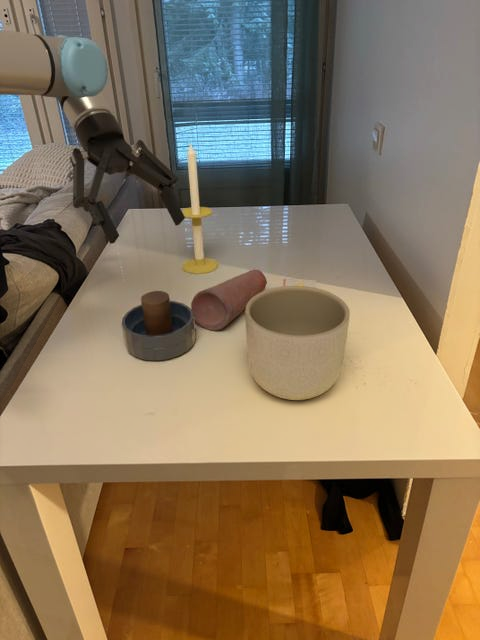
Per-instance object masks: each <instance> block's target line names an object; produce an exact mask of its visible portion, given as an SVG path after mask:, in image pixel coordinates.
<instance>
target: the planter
mask: <svg viewBox="0 0 480 640" xmlns="http://www.w3.org/2000/svg"><path fill="white" fill-rule="evenodd" d="M244 310H245V311H244V316H245V317H244V318H245V319H244V320H245V337H246V351H247V361H248V365H249V366H248V367H249V370H250V373H251V375H252V377H253V379H254V381H255V382H256V383H257V384H258V386H259V387H260V388H262V389H263V390H264V391H266V392H267V393H269V394H270V395H272V396H275V397H277V398H281V399H284V400H288V401H289V400H290V401H304V400H309V399H312V398H315V397H318V396H320V395H322V394H324V393H325V392H327V391H328V390H329V389H331V387H332V386H333V385H334V384H335V383H336V381H337V380H338V378H339V375H340V372H341V370H342V366H343V362H344V357H345V351H346V344H347V338H348V332H349V326H350V325H349V324H350V318H351V317H350V315H351V313H350V312H351V311H350V309H349V306H348V305H347V303H346V302H345V301H344V300H343V299H342V298H341V297H339V296H338V295H336V294H334V293H332V292H330V291H327V290H325V289H321V288H318V287H316V288H313V287H307V286H283V285H282V286H276V287H272V288H268V289H264V291H263V292H260V293H258V294H257V295H255V296H254V297H252V298H251V299H250V300H249V302H248V303H247V305H246V308H245V309H244Z"/></svg>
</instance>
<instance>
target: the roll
mask: <svg viewBox="0 0 480 640" xmlns="http://www.w3.org/2000/svg"><path fill="white" fill-rule="evenodd" d="M170 301H171V300H170V295H169V293H168V292H166V291H163V290H153V291H149V292H146V293H144V294H143V295H142V296H141V297H140V303H141V304H142V310H143V317H144V323H145V329H146V335H150V336H154V335H164V334H167V333H171V332H173V324H172V315H171V307H170ZM141 304H140V305H141Z"/></svg>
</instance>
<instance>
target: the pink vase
mask: <svg viewBox="0 0 480 640" xmlns="http://www.w3.org/2000/svg"><path fill="white" fill-rule="evenodd" d="M267 284H268V282H267V278H266V276H265V274H264V273H263V271H262V270H260V269H252V270H248V271H247V272H243V273H241V274H238V275H236V276H234V277H232V278H229V279H227V280H225V281H223V282H220V283H218V284H217V285H214V286H210V287H208V288H205V289H202V290H200V291H198V292H197V293H195V295H194V296H193V298H192V301H191V303H190V304H191V305H190V309H191V310H192V311H193V315H194V321H195V323H197V324H198V325H199V326H200V327H202V328H204V329H207V330H209V331H219V330H222V329H224V328H225V327H227V326H228V325H229V324H230V322H232V321H233V320H234V319H235V318H236V317H238V316H239V315H240V314H241V313H242V312H243V311H244V310H245V309H246V305H247V303H248V302H249V300H250V299H251V298H252V297H254V296H255V295H257V294H258V293H260V292H263V291H265V290H266V286H267Z"/></svg>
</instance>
